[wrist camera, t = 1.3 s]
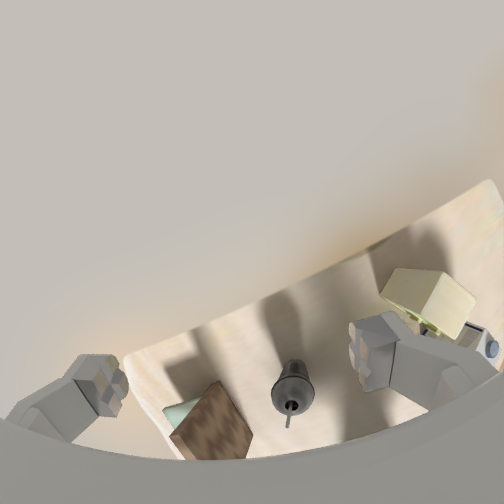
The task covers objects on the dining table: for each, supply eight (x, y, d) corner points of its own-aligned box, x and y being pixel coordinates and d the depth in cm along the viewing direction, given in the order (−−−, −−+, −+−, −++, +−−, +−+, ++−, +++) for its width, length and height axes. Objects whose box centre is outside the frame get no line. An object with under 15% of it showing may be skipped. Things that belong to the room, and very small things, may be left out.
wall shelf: (253, 435, 53) (230, 498, 31) (210, 445, 55) (177, 502, 33) (219, 381, 55) (178, 434, 33) (177, 395, 57) (127, 443, 35)
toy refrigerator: (375, 298, 50) (416, 319, 29) (394, 266, 49) (444, 269, 29) (404, 317, 49) (453, 345, 28) (422, 287, 48) (479, 298, 27)
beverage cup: (317, 358, 51) (324, 406, 32) (305, 388, 52) (305, 444, 32) (283, 349, 53) (273, 393, 33) (272, 379, 53) (257, 432, 33)
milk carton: (420, 336, 48) (467, 367, 28) (438, 310, 47) (492, 330, 27) (437, 353, 47) (484, 387, 27) (456, 329, 46) (508, 352, 26)
